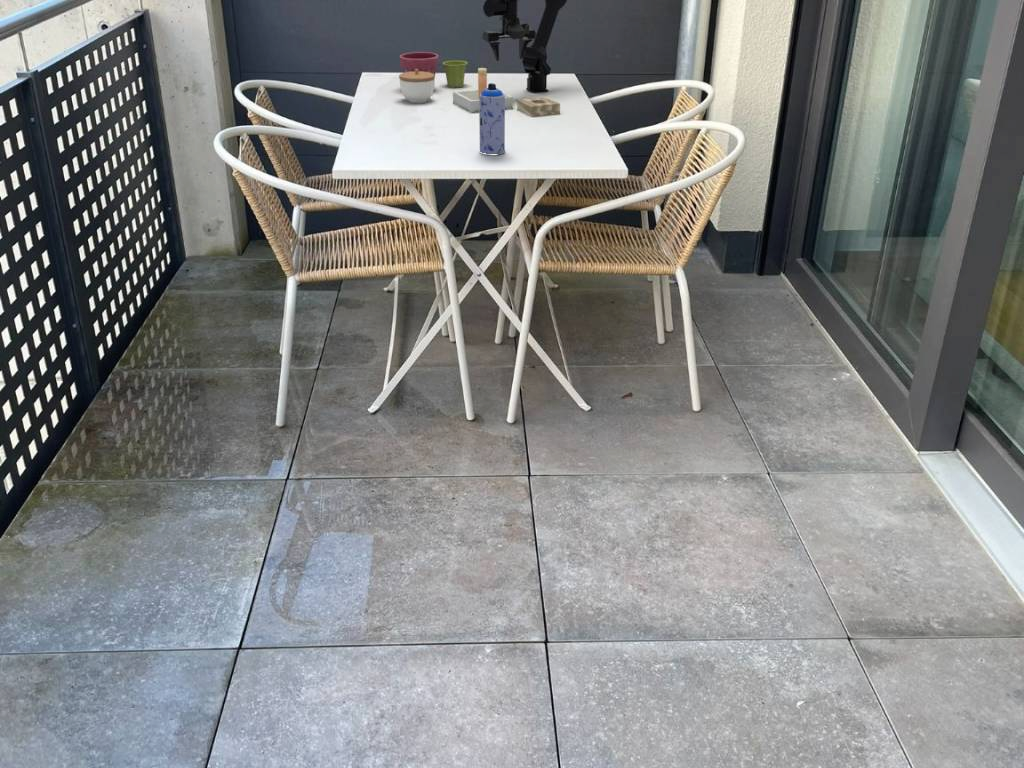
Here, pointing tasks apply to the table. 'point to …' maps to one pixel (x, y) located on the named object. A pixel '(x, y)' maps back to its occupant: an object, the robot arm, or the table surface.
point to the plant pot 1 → (419, 62)
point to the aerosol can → (492, 120)
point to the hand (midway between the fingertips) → (509, 59)
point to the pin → (482, 80)
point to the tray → (475, 100)
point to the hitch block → (538, 106)
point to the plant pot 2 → (455, 73)
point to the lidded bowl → (417, 85)
